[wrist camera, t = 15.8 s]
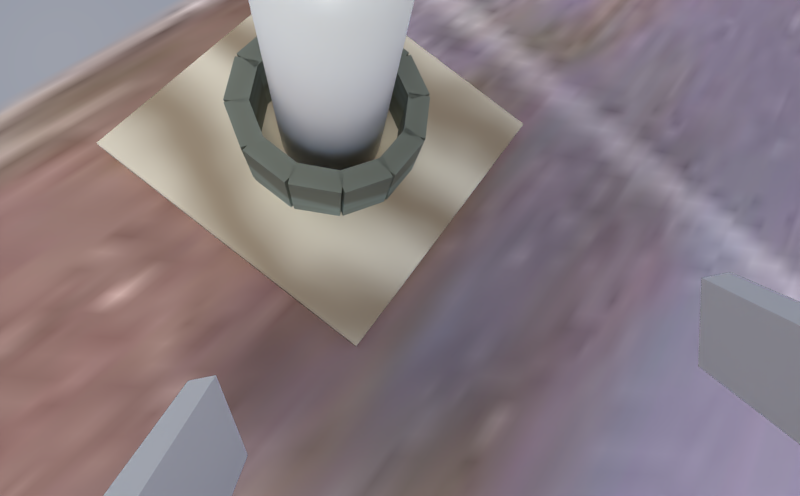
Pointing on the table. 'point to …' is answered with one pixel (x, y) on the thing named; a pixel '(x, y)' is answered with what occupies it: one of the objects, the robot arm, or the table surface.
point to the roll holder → (315, 176)
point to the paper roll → (331, 73)
